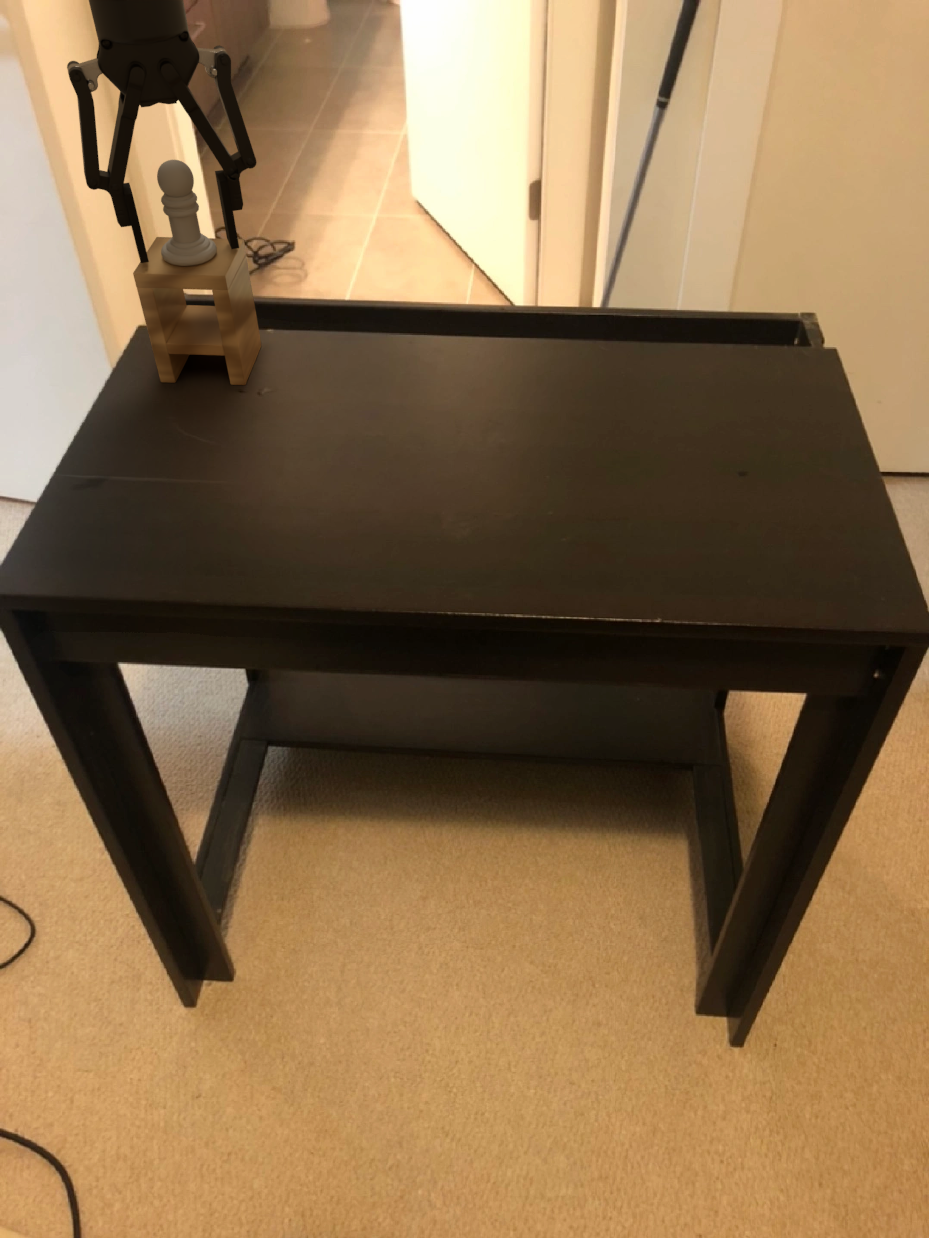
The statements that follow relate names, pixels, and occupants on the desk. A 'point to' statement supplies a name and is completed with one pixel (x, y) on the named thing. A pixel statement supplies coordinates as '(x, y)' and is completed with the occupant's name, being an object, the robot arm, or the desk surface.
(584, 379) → the desk surface
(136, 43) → the robot arm
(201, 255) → the chess piece
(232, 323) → the shelf
